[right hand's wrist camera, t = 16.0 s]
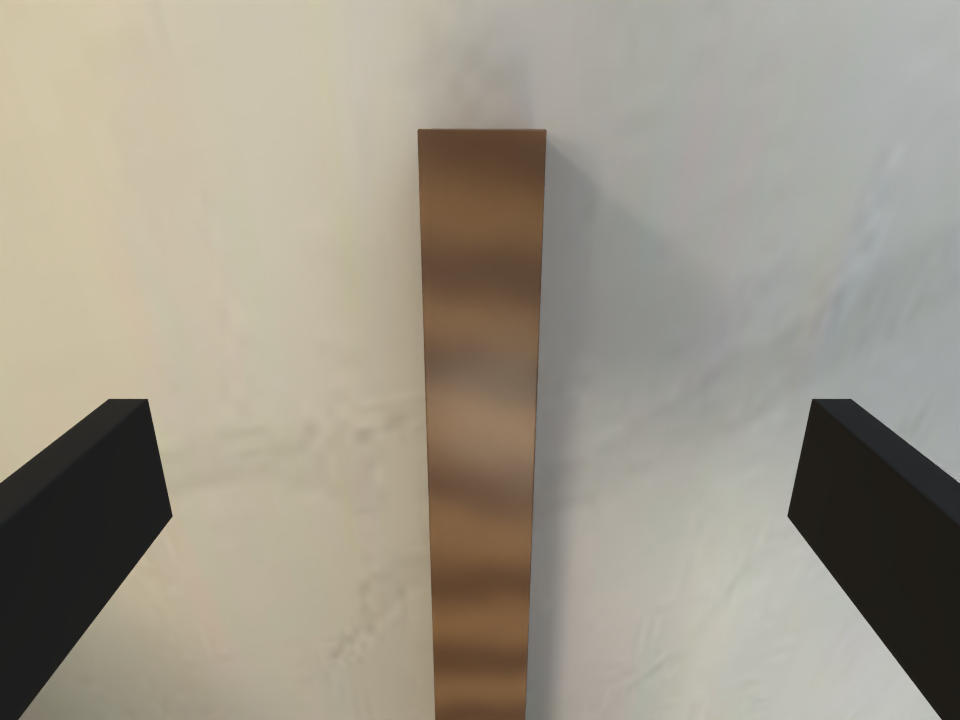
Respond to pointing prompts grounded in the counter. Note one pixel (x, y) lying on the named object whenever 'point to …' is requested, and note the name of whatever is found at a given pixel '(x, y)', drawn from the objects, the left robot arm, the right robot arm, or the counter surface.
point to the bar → (481, 406)
